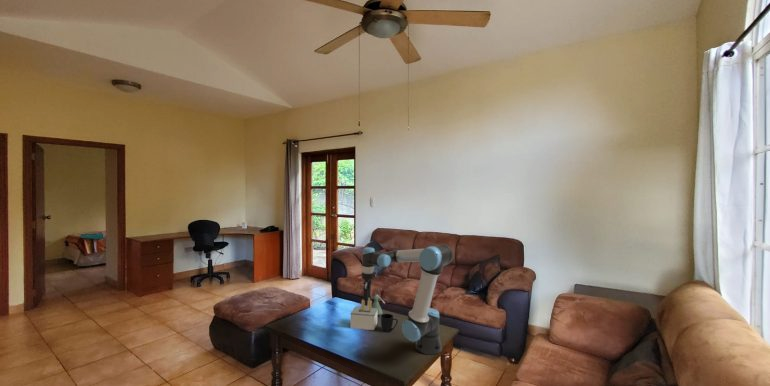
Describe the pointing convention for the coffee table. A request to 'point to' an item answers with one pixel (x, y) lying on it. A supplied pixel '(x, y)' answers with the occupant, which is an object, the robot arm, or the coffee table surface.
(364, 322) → the box
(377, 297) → the character figurine
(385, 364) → the coffee table surface
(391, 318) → the mug
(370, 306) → the tall tan block
